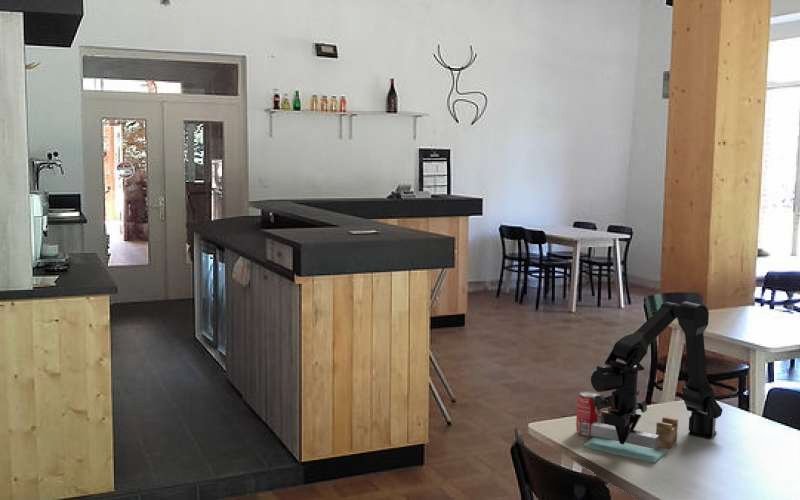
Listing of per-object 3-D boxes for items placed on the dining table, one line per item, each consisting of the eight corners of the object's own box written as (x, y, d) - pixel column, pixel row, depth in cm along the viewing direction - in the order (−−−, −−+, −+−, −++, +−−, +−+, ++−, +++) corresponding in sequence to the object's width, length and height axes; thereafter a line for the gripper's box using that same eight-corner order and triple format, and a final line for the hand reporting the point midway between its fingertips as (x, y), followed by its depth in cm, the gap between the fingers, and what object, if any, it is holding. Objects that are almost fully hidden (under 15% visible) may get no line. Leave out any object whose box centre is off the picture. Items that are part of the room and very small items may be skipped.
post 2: (676, 442, 228) (677, 419, 227) (669, 449, 223) (671, 425, 222) (662, 439, 230) (663, 416, 230) (655, 446, 225) (656, 422, 224)
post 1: (621, 431, 237) (622, 408, 237) (613, 437, 232) (614, 414, 231) (608, 428, 240) (609, 406, 239) (600, 434, 234) (601, 411, 234)
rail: (658, 445, 217) (658, 435, 217) (654, 449, 215) (655, 438, 215) (594, 432, 228) (595, 421, 227) (590, 435, 225) (591, 424, 225)
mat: (664, 454, 219) (664, 452, 219) (655, 463, 213) (655, 461, 212) (594, 438, 230) (594, 436, 230) (583, 446, 224) (583, 444, 224)
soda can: (598, 430, 238) (600, 390, 236) (602, 438, 231) (604, 398, 229) (574, 429, 238) (576, 389, 237) (577, 437, 231) (578, 397, 230)
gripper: (610, 374, 232) (608, 427, 233) (585, 389, 216) (583, 445, 218) (648, 381, 225) (646, 435, 227) (625, 397, 210) (623, 454, 212)
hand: (624, 442), depth 221 cm, fingers closed on rail, 3 cm apart
